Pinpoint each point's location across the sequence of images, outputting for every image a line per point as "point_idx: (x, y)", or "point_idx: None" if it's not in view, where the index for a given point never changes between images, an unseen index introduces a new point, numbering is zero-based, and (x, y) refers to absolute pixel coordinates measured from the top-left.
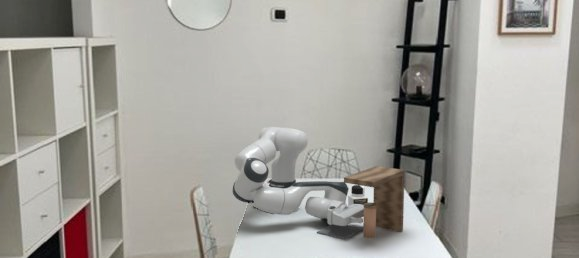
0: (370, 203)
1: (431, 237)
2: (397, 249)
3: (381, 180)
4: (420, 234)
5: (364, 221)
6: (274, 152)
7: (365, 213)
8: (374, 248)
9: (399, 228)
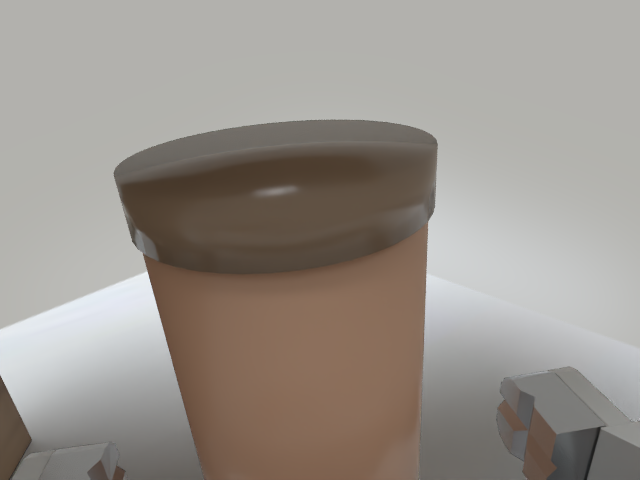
0: (212, 158)
1: (94, 294)
2: None
3: None
4: (52, 340)
5: (418, 464)
6: None
7: (424, 314)
8: (521, 356)
9: (12, 426)
